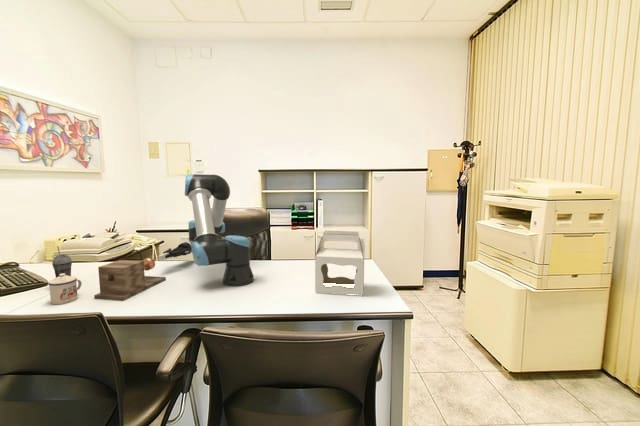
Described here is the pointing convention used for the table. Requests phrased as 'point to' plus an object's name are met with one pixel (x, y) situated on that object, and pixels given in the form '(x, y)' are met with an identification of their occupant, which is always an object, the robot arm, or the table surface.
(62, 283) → the teacup with lid
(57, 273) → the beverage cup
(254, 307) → the table surface
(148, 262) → the plunger
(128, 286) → the block
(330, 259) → the gable box
